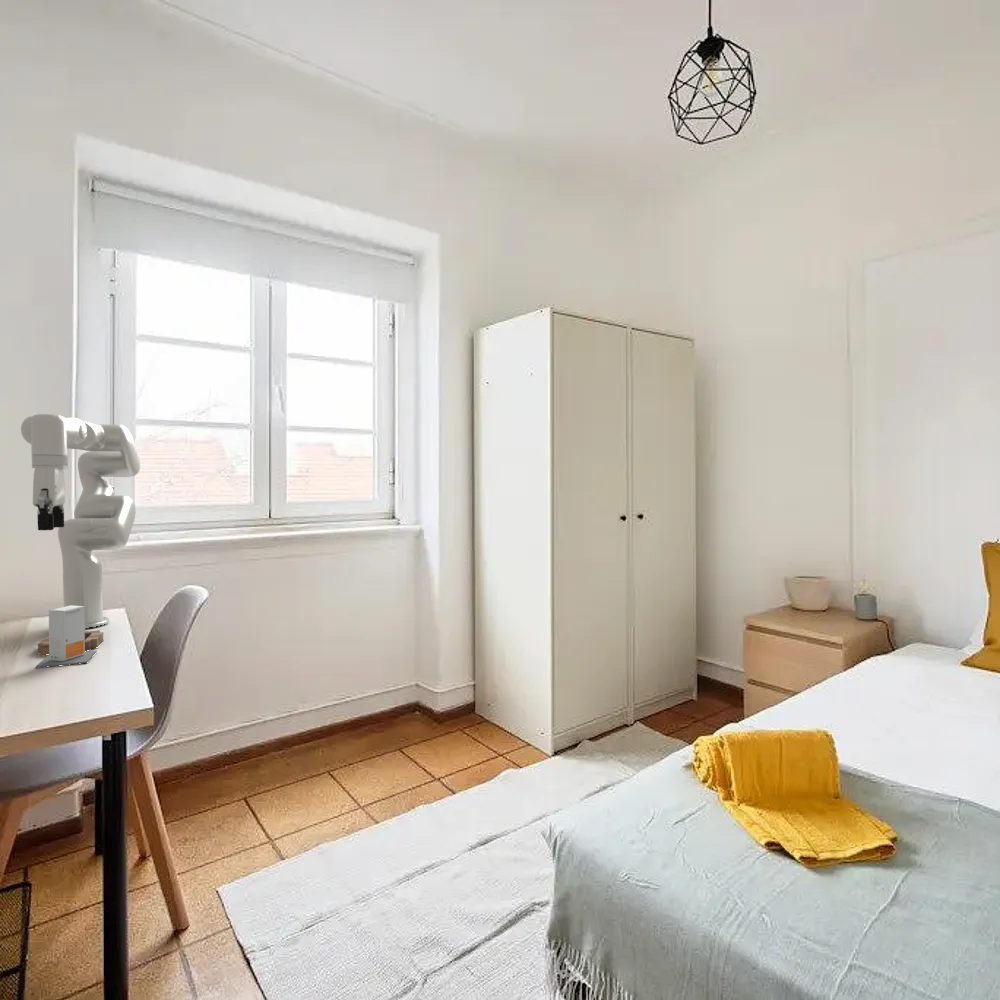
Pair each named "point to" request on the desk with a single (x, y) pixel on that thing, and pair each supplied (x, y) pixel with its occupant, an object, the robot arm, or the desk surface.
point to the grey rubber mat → (76, 660)
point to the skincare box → (66, 633)
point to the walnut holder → (91, 641)
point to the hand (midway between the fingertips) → (51, 528)
